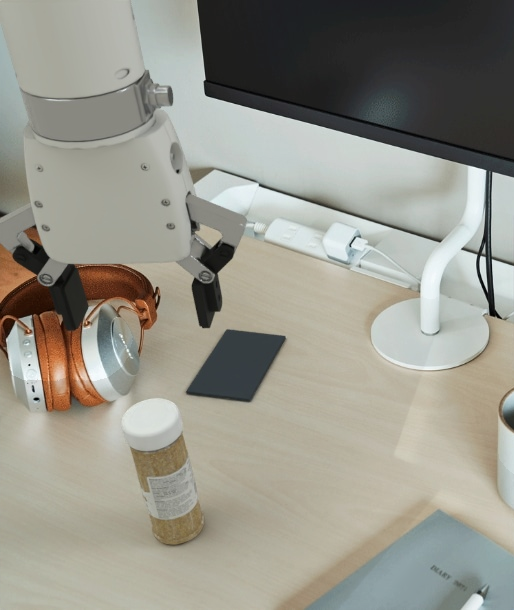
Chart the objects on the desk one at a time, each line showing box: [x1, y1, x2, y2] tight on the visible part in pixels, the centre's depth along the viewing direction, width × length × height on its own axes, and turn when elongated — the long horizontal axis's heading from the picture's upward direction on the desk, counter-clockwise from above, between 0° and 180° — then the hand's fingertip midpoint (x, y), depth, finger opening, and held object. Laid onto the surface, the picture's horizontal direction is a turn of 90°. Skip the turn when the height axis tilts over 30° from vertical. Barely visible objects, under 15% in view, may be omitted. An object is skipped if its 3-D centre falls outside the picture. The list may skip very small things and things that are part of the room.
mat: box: [185, 328, 286, 403], centre depth 100 cm, size 7×11×1 cm, turn 170°
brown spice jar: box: [120, 397, 205, 546], centre depth 78 cm, size 5×5×13 cm
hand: (143, 318), depth 69 cm, fingers open, 9 cm apart
